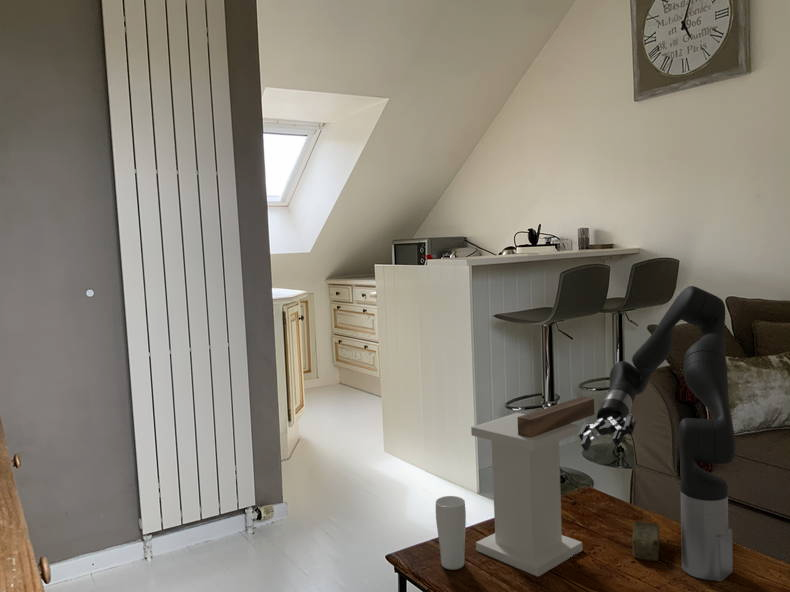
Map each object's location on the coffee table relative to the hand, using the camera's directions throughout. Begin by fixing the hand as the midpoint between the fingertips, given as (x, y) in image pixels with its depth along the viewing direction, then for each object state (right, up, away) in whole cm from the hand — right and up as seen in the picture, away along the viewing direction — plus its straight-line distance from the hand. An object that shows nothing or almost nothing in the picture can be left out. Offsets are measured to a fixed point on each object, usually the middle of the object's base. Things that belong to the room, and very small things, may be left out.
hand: (599, 445), depth 165 cm
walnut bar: (-14, +8, -13) cm, 20 cm away
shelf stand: (-20, -22, -10) cm, 32 cm away
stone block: (+7, -22, -13) cm, 26 cm away
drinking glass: (-38, -24, -16) cm, 48 cm away
